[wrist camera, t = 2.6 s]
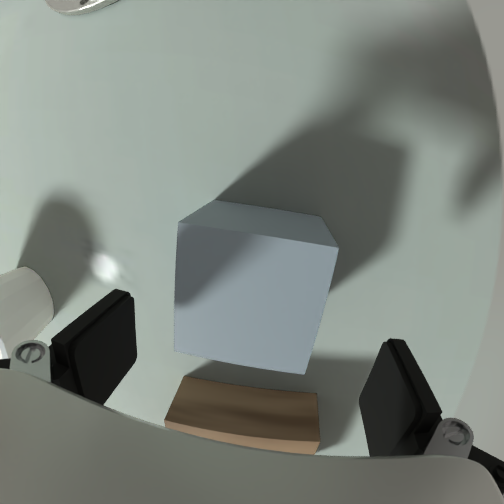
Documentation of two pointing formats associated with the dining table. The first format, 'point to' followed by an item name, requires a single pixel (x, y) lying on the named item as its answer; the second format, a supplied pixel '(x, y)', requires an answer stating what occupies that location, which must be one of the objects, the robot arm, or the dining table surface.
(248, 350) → the slate cube
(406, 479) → the robot arm
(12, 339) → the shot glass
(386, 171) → the dining table surface
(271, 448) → the walnut block
